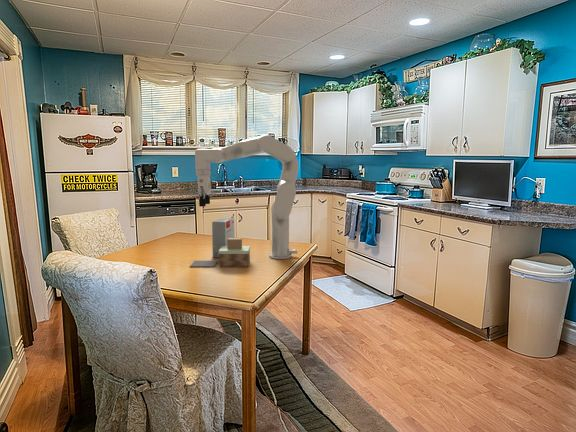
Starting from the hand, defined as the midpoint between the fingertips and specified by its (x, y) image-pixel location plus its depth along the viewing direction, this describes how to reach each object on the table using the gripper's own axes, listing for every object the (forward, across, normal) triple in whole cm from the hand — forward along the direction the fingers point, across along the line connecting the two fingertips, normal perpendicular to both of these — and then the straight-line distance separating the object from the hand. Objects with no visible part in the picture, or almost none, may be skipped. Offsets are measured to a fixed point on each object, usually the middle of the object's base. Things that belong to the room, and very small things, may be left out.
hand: (204, 205), depth 195 cm
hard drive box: (+29, +8, -8) cm, 32 cm away
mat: (+29, -12, -1) cm, 31 cm away
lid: (+22, -11, -17) cm, 30 cm away
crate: (+29, -11, -17) cm, 36 cm away
